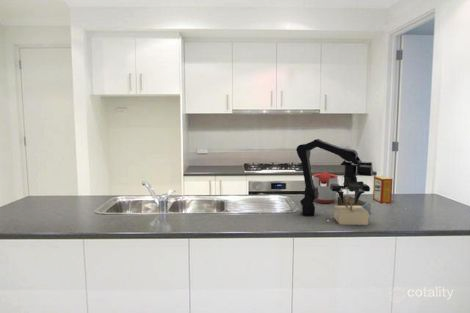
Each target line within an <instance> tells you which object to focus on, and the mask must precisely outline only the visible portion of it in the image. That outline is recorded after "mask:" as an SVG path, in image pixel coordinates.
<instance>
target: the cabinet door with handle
mask: <svg viewBox="0 0 470 313" xmlns="http://www.w3.org/2000/svg"><path fill="white" fill-rule="evenodd" d="M349 197H350V196H349ZM349 197H345V199H346V206H338V205H333V208H334V207H335V208H336V209H337V210H338V211H339V212H340V213H354V211H352V204H353V203H354V202H353V201H352V200H351V199H350V198H349ZM348 202H349V203H350V208H349V207H348Z"/></svg>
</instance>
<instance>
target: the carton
mask: <svg viewBox="0 0 470 313" xmlns="http://www.w3.org/2000/svg"><path fill="white" fill-rule="evenodd" d="M348 207H349V208H350V206H348ZM352 211H354V213H340V212H339V211H338V210H337V209H336V208H335V207H334V206H333V219H334V220H335V221H336V222H337V223H338V224H339V225H343V226H344V225H350V226H352V225H353V226H355V225H360V226H363V225H365V226H368V225H369V215H370V214H369V212H368V211H367V210H365V209H364V208H363V207H361V206H352Z"/></svg>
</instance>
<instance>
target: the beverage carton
mask: <svg viewBox="0 0 470 313" xmlns="http://www.w3.org/2000/svg"><path fill="white" fill-rule="evenodd" d="M345 197H349V198H350V199H351V200H352V201H353V202H354V203H353V204H352V206H361V207H363V208H364V209H365V210H367V211H368V212H369V214H368V215H370V214H371V204H372V203H369V202H366V201H363V200H360V199H358V201H357V203H356V204H355V197H351V196H350V195H343V204H342V203H341V200H340V197H339V196H338V197H337V201H336V202H337V205H336V206H346V199H345ZM348 206H350V203H349V202H348Z"/></svg>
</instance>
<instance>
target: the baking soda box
mask: <svg viewBox="0 0 470 313" xmlns="http://www.w3.org/2000/svg"><path fill="white" fill-rule="evenodd" d="M392 192H393V178H391V177H387V176H386V175H385V176H384V175H380V176H379V175H377V176H374V177H373V192H372V193H373V194H372V200H373V201H375V202H377V203H379V204H382V205H383V203H386V204H392V195H393V194H392Z"/></svg>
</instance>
